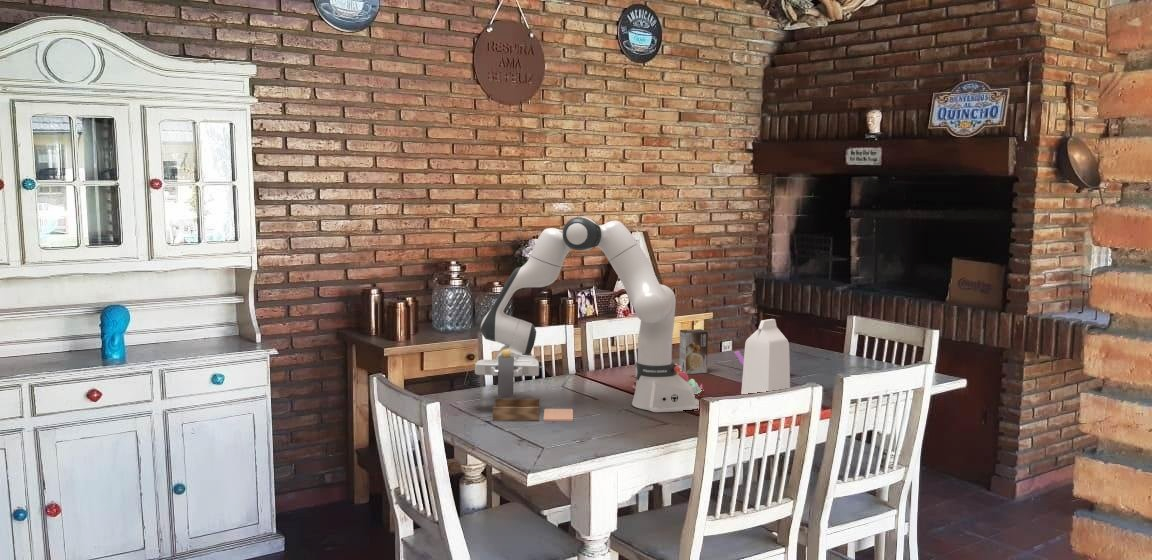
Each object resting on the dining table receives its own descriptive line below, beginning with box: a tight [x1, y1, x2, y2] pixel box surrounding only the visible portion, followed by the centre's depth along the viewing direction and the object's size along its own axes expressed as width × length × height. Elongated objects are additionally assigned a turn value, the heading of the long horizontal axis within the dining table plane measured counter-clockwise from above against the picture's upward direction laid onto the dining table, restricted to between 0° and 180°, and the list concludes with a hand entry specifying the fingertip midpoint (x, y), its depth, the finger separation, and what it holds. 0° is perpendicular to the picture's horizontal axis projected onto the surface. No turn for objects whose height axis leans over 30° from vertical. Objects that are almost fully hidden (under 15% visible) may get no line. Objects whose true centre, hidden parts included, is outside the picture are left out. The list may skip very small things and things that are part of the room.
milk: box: [740, 318, 791, 395], centre depth 307 cm, size 12×12×26 cm
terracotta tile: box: [543, 408, 574, 422], centre depth 279 cm, size 9×12×1 cm
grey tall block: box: [497, 350, 515, 398], centre depth 277 cm, size 5×5×14 cm
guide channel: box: [492, 398, 541, 422], centre depth 278 cm, size 14×11×4 cm
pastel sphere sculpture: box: [632, 363, 704, 394], centre depth 314 cm, size 25×24×9 cm
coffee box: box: [679, 328, 709, 375], centre depth 342 cm, size 9×6×16 cm
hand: (505, 373), depth 276 cm, fingers closed on grey tall block, 5 cm apart
